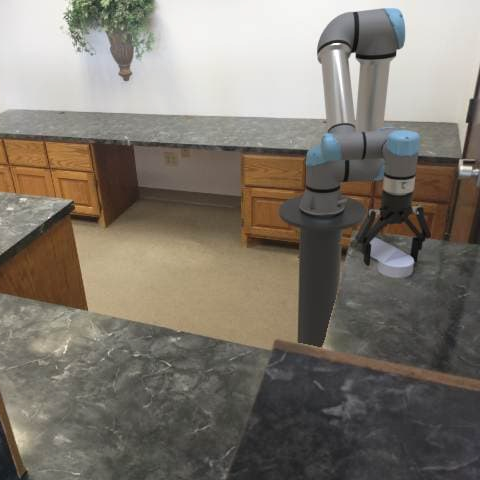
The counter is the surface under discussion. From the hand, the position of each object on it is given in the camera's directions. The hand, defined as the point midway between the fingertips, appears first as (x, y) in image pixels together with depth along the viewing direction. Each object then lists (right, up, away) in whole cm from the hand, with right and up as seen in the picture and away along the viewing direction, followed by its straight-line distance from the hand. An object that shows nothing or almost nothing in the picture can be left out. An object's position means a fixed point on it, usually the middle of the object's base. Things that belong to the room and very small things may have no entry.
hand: (389, 261), depth 144 cm
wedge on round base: (0, -2, +1) cm, 2 cm away
